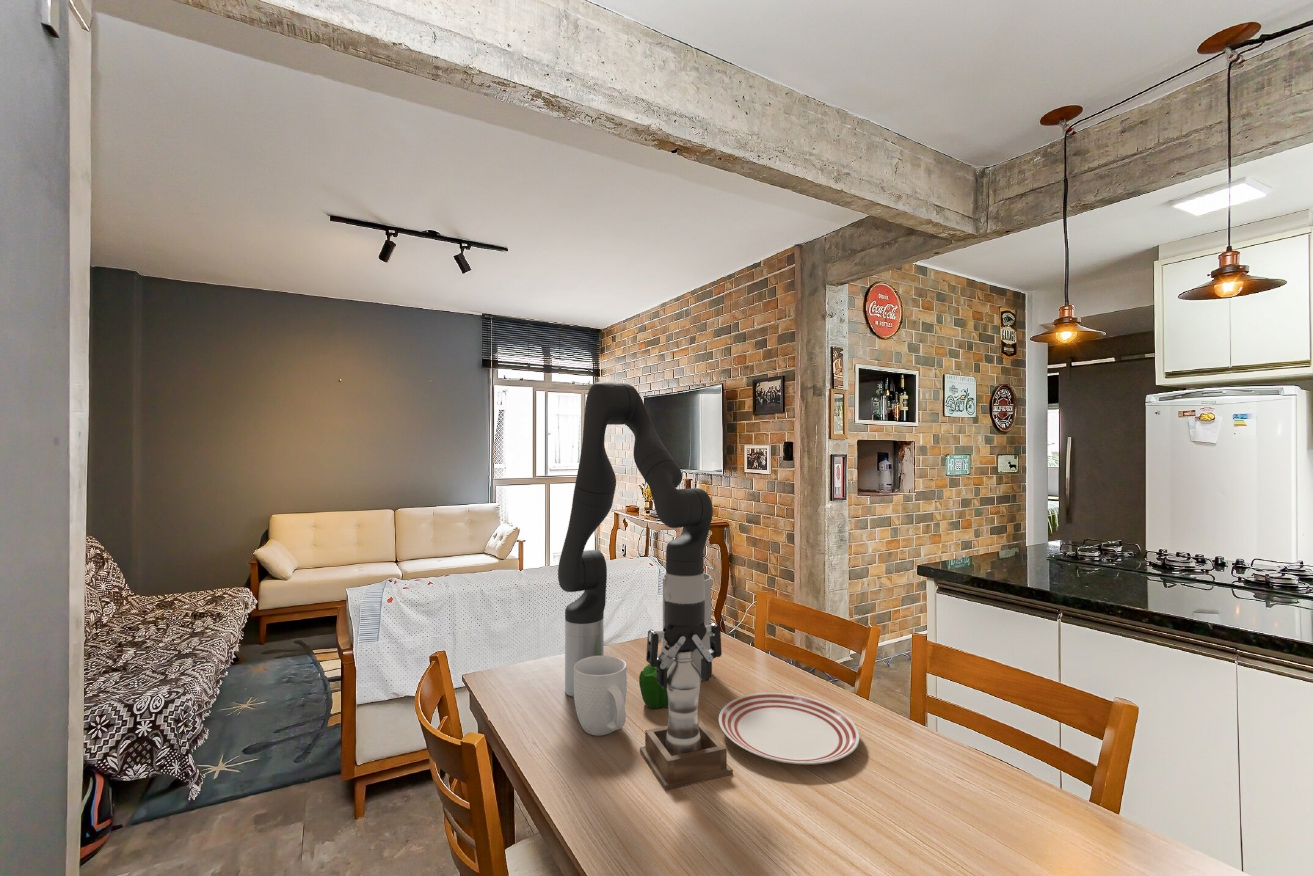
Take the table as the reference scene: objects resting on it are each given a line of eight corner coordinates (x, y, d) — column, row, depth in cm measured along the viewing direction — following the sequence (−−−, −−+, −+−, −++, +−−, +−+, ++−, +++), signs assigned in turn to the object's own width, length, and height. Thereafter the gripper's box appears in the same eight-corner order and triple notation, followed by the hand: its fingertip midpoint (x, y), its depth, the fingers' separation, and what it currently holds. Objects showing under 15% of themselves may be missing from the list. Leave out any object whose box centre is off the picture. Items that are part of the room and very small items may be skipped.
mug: (646, 740, 112) (646, 674, 112) (597, 756, 106) (597, 687, 106) (610, 710, 124) (610, 651, 125) (564, 724, 118) (564, 661, 119)
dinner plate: (882, 736, 114) (881, 719, 114) (818, 798, 94) (818, 778, 94) (765, 695, 132) (765, 681, 132) (691, 740, 112) (691, 723, 112)
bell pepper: (669, 714, 122) (669, 668, 123) (634, 709, 125) (634, 664, 125) (680, 698, 130) (680, 655, 131) (647, 693, 133) (647, 651, 133)
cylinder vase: (713, 684, 138) (713, 582, 139) (662, 684, 138) (662, 582, 139) (709, 664, 151) (709, 571, 151) (662, 664, 151) (662, 571, 151)
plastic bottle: (664, 748, 107) (663, 643, 108) (700, 748, 107) (699, 643, 108) (665, 768, 101) (664, 655, 101) (703, 767, 101) (702, 655, 101)
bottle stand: (639, 751, 108) (639, 729, 108) (701, 738, 112) (701, 717, 112) (665, 790, 96) (665, 764, 96) (732, 774, 100) (732, 749, 100)
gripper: (710, 587, 110) (709, 670, 110) (641, 594, 105) (641, 681, 105) (728, 597, 103) (728, 686, 103) (656, 605, 98) (655, 698, 98)
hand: (684, 683), depth 104 cm, fingers open, 8 cm apart
